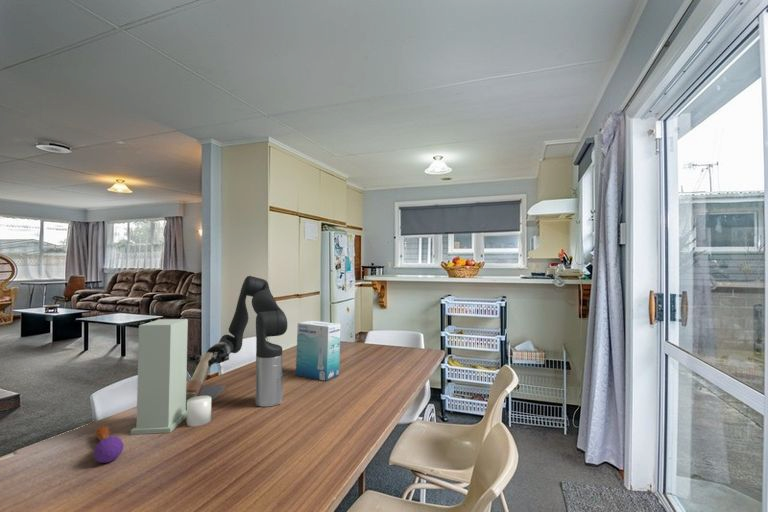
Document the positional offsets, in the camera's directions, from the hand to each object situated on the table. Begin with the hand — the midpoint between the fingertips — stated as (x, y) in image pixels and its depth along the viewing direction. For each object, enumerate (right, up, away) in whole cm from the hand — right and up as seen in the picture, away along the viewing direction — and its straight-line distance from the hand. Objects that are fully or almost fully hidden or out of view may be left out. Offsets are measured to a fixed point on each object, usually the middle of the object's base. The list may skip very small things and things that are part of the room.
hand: (203, 363), depth 137 cm
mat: (+1, -12, -4) cm, 13 cm away
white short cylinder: (+11, -11, -24) cm, 29 cm away
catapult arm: (0, -5, -2) cm, 6 cm away
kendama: (-5, -11, -42) cm, 44 cm away
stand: (0, -11, -26) cm, 28 cm away
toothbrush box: (+40, -13, +23) cm, 48 cm away
